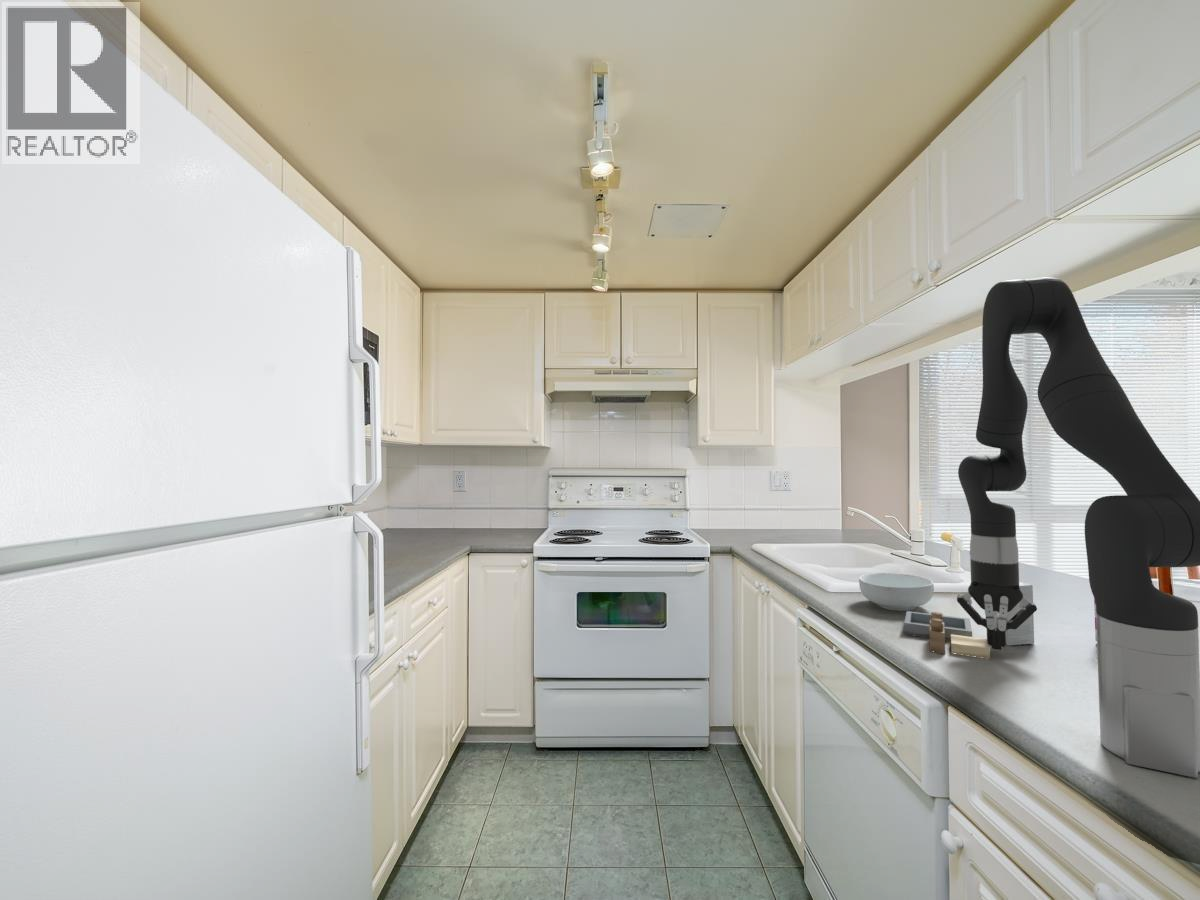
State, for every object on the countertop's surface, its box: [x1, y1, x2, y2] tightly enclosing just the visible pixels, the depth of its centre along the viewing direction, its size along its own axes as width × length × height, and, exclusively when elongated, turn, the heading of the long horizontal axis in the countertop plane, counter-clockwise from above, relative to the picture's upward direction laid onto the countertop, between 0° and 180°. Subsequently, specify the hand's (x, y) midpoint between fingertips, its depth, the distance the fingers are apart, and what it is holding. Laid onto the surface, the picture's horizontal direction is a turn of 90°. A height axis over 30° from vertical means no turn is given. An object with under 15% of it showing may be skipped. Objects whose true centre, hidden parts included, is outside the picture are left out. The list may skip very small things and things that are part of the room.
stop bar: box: [929, 611, 946, 654], centre depth 108 cm, size 8×2×6 cm, turn 148°
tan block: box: [950, 634, 991, 660], centre depth 105 cm, size 6×6×2 cm
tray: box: [904, 610, 973, 641], centre depth 117 cm, size 10×12×2 cm
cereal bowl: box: [858, 572, 935, 612], centre depth 137 cm, size 17×17×7 cm
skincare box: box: [993, 581, 1035, 646], centre depth 110 cm, size 6×4×12 cm
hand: (996, 648), depth 103 cm, fingers closed
